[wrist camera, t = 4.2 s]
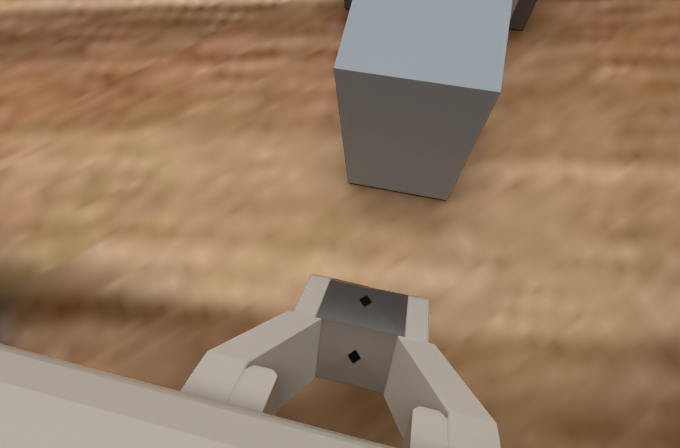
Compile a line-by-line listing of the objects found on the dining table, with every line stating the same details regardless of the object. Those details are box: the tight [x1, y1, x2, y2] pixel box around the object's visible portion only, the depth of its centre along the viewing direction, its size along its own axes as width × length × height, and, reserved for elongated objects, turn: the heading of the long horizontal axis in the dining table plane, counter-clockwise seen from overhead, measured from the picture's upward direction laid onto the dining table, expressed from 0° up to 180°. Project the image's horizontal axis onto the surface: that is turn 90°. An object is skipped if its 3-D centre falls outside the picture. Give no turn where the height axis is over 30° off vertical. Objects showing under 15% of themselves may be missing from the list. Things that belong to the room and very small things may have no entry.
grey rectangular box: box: [334, 0, 513, 200], centre depth 16 cm, size 12×4×8 cm, turn 167°
